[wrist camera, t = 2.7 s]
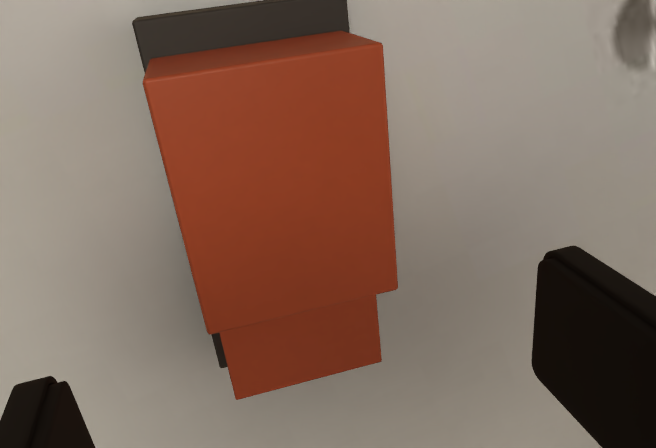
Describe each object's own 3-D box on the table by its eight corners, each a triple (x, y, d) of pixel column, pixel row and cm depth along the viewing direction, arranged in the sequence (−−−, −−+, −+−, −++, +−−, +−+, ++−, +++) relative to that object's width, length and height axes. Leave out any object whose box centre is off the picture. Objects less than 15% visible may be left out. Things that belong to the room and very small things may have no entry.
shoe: (135, 17, 16) (118, 33, 11) (333, -9, 17) (389, -5, 12) (217, 344, 21) (228, 442, 16) (364, 308, 22) (411, 391, 18)
